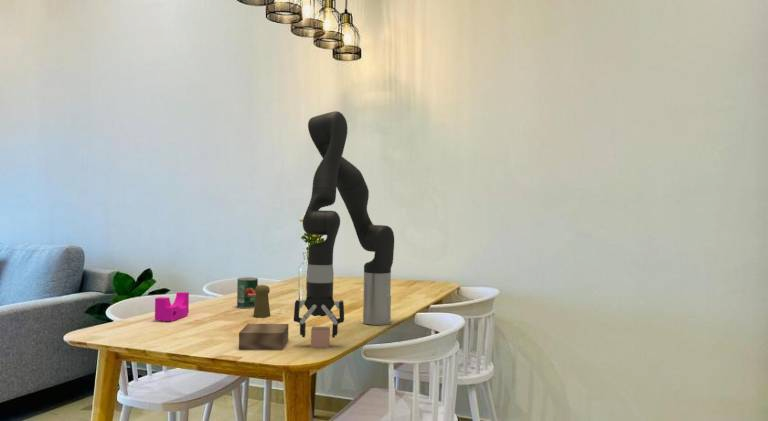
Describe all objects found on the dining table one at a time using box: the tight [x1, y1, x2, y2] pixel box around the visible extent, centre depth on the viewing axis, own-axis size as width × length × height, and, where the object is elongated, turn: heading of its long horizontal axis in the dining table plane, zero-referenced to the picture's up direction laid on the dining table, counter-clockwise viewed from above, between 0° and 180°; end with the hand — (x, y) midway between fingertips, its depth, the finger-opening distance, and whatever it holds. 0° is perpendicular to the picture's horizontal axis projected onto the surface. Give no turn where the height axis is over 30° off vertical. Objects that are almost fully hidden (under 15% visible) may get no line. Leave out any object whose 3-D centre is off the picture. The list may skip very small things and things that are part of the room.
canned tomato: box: [236, 277, 259, 309], centre depth 219 cm, size 8×8×11 cm
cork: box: [252, 284, 271, 318], centre depth 201 cm, size 6×6×11 cm
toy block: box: [154, 291, 190, 322], centre depth 198 cm, size 15×6×8 cm, turn 168°
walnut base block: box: [238, 323, 289, 351], centre depth 159 cm, size 12×12×5 cm
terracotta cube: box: [310, 326, 331, 349], centre depth 159 cm, size 5×5×5 cm
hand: (318, 336), depth 159 cm, fingers open, 8 cm apart
